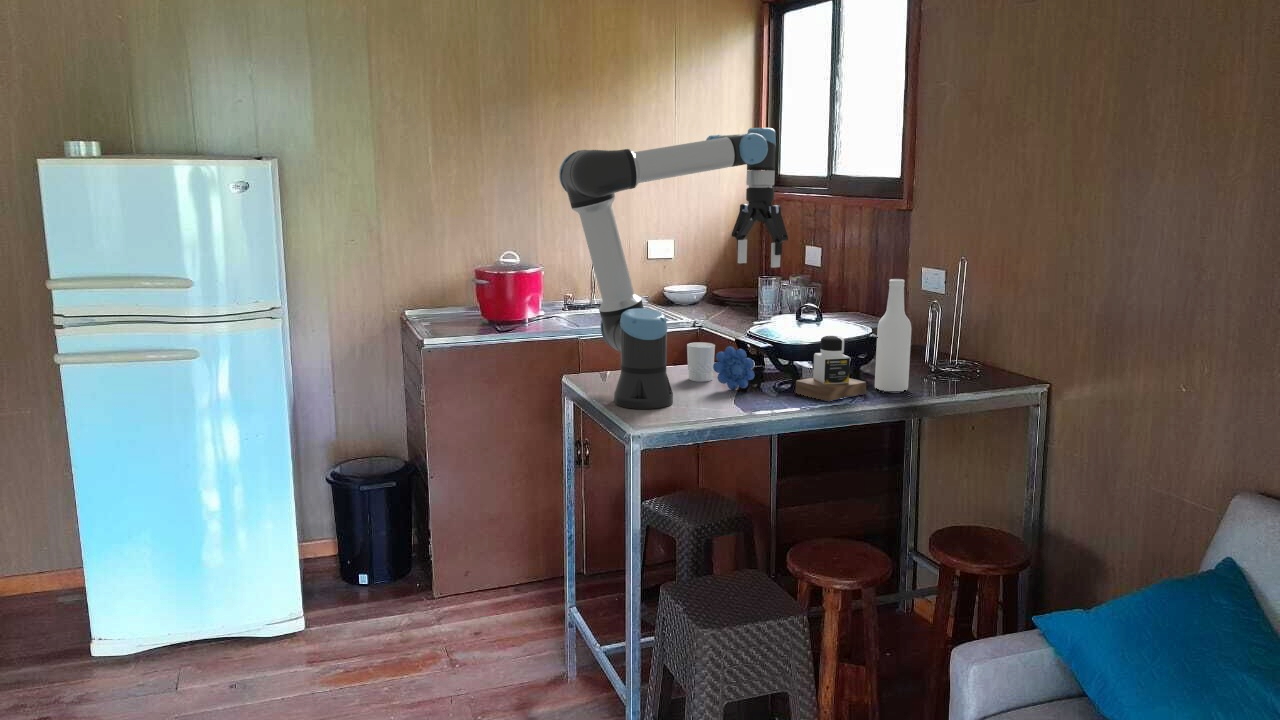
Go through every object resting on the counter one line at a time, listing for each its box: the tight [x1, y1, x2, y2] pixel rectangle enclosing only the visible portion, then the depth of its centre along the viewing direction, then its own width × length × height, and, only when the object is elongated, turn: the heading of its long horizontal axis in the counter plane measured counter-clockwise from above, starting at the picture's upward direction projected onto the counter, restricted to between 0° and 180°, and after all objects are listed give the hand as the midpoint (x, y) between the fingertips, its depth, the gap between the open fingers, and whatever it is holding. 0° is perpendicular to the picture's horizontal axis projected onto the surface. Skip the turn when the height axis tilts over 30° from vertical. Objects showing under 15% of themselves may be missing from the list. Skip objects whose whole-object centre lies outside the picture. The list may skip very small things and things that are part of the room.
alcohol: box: [874, 278, 913, 391], centre depth 255 cm, size 9×9×30 cm
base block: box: [795, 377, 867, 401], centre depth 252 cm, size 14×12×4 cm
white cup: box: [686, 341, 716, 383], centre depth 270 cm, size 8×8×10 cm
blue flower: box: [713, 345, 756, 390], centre depth 256 cm, size 12×7×12 cm, turn 102°
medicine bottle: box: [812, 335, 851, 385], centre depth 251 cm, size 7×7×12 cm
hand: (758, 265), depth 261 cm, fingers open, 13 cm apart
